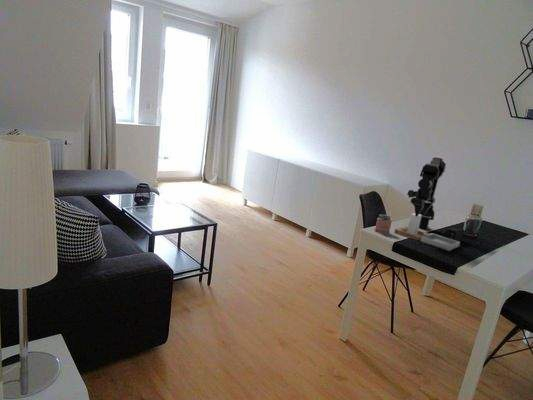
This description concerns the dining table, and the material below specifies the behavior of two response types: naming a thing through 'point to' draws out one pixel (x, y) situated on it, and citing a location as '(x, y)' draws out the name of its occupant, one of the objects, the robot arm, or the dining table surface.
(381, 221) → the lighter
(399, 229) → the socket block
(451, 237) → the digital camera
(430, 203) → the robot arm
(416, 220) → the skincare box
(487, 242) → the dining table surface
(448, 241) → the tray
